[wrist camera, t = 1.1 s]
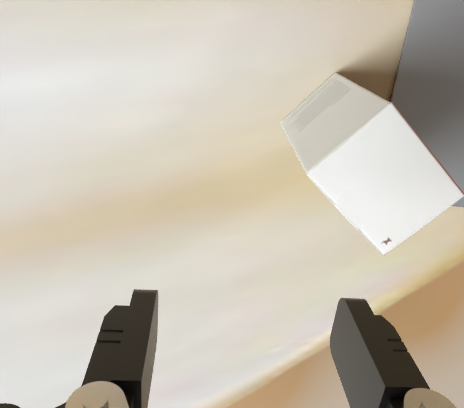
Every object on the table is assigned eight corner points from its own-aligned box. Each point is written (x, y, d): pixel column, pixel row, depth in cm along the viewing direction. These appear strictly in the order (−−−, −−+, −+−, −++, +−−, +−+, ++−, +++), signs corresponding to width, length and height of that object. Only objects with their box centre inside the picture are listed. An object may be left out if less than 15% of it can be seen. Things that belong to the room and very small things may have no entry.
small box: (391, 137, 38) (469, 197, 26) (335, 184, 40) (383, 259, 28) (335, 68, 35) (392, 100, 23) (277, 121, 37) (303, 175, 25)
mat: (420, -27, 33) (422, -27, 32) (566, -11, 34) (569, -11, 33) (366, 199, 41) (367, 201, 40) (485, 206, 42) (487, 208, 41)
